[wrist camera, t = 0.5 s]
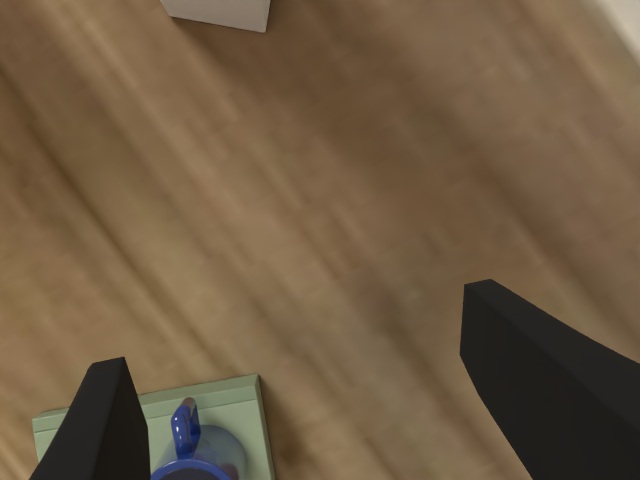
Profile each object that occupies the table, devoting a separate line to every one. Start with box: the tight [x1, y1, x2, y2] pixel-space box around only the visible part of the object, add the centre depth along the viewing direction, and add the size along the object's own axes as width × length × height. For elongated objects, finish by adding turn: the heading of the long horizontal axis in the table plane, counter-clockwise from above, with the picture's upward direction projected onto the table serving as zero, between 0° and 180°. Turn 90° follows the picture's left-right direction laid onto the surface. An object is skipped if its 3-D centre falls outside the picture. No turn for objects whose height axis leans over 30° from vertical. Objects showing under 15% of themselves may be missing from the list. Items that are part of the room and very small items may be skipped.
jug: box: [151, 397, 248, 480], centre depth 31 cm, size 7×5×6 cm, turn 9°
